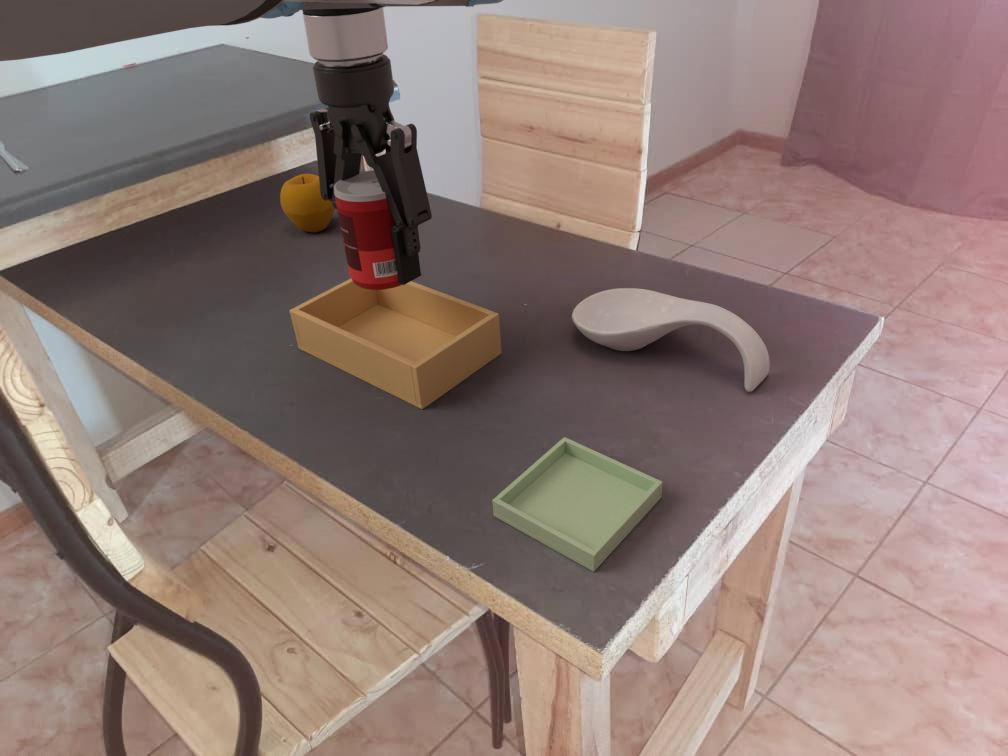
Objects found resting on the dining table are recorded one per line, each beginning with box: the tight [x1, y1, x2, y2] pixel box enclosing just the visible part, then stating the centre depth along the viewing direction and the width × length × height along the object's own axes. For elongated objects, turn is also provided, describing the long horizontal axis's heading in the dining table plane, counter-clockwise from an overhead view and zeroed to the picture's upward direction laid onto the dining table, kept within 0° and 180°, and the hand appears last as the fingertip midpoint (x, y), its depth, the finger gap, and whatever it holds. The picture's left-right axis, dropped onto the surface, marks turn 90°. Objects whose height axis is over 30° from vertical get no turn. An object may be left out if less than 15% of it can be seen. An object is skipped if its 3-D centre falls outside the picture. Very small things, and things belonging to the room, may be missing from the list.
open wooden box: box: [289, 278, 502, 410], centre depth 93 cm, size 22×14×6 cm, turn 50°
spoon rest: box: [571, 287, 771, 393], centre depth 89 cm, size 24×12×7 cm, turn 51°
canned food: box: [333, 169, 406, 290], centre depth 85 cm, size 8×8×11 cm
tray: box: [491, 436, 663, 573], centre depth 70 cm, size 11×11×2 cm
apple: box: [279, 173, 336, 233], centre depth 124 cm, size 9×8×9 cm
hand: (384, 269), depth 88 cm, fingers closed on canned food, 8 cm apart
